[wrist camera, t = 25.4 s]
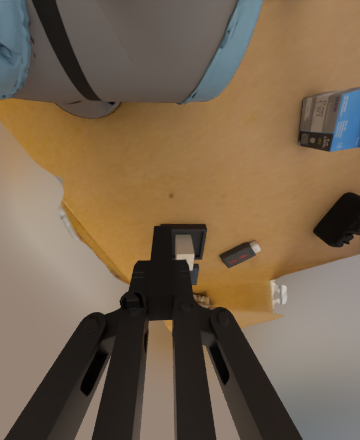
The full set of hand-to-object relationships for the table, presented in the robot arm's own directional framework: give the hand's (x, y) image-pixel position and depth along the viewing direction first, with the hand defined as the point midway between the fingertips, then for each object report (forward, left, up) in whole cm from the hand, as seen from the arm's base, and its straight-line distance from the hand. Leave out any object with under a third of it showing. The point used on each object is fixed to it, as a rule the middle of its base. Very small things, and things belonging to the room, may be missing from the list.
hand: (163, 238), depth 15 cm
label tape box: (+30, +10, -27) cm, 41 cm away
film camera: (+51, -13, -27) cm, 59 cm away
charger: (+5, -22, -25) cm, 34 cm away
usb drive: (+24, -27, -27) cm, 45 cm away
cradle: (+5, -22, -26) cm, 35 cm away
